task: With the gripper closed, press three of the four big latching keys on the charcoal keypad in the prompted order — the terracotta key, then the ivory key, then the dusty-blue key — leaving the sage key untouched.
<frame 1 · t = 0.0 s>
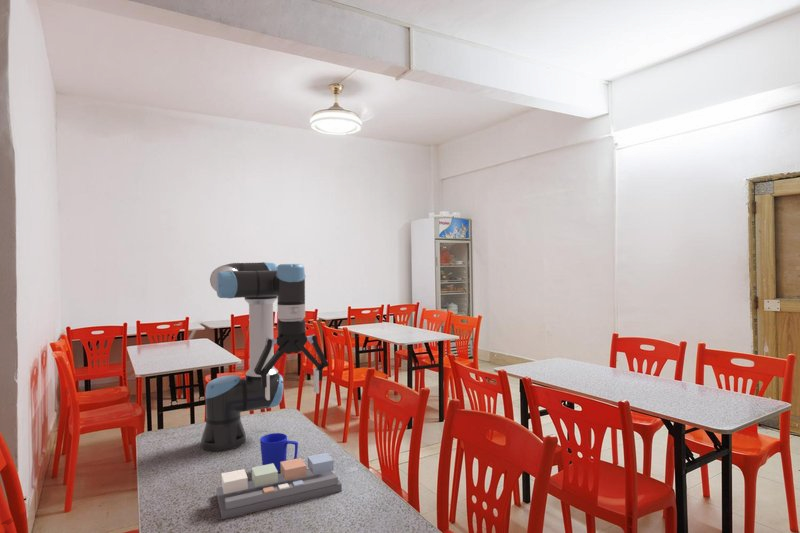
hand: (292, 395, 132), 28 cm above the table, fingers open, 13 cm apart
keypad: (279, 492, 134), on the table
terracotta key: (293, 468, 136), point 6 cm above the table, slide at 0.0 cm
sage key: (264, 474, 132), point 6 cm above the table, slide at 0.0 cm
ivory key: (234, 481, 129), point 6 cm above the table, slide at 0.0 cm
mug: (279, 470, 149), on the table
blue key: (320, 463, 139), point 6 cm above the table, slide at 0.0 cm
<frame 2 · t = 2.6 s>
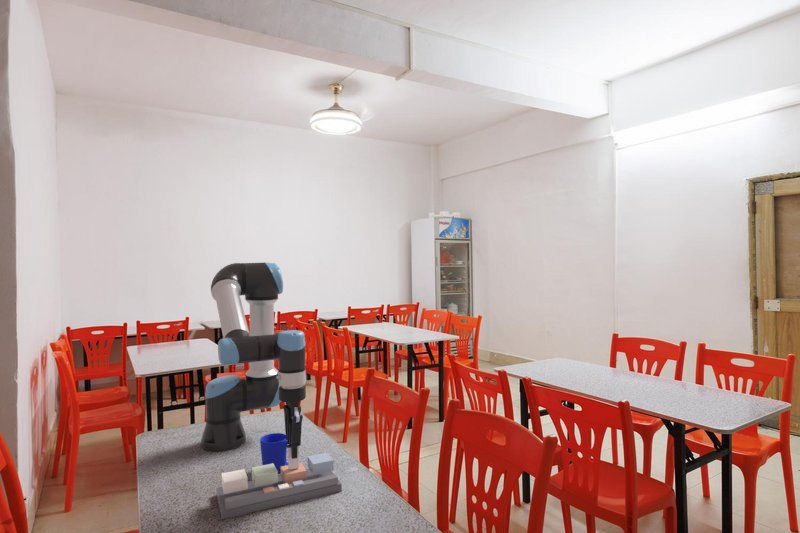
hand: (293, 467, 136), 6 cm above the table, fingers closed
terracotta key: (293, 473, 136), point 5 cm above the table, slide at 1.4 cm, touching gripper
everything else where it was.
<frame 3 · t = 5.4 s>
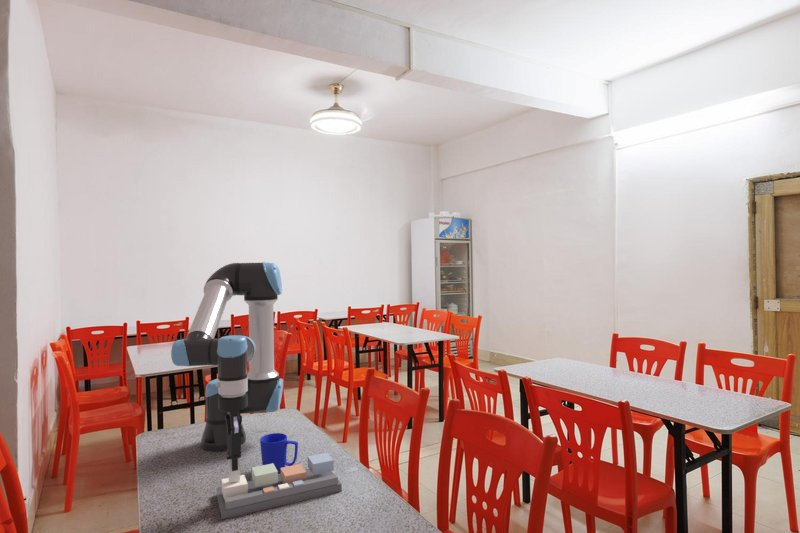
hand: (234, 480, 129), 6 cm above the table, fingers closed
terracotta key: (293, 475, 136), point 4 cm above the table, slide at 1.8 cm
ivory key: (234, 486, 129), point 4 cm above the table, slide at 1.6 cm, touching gripper
everything else where it was.
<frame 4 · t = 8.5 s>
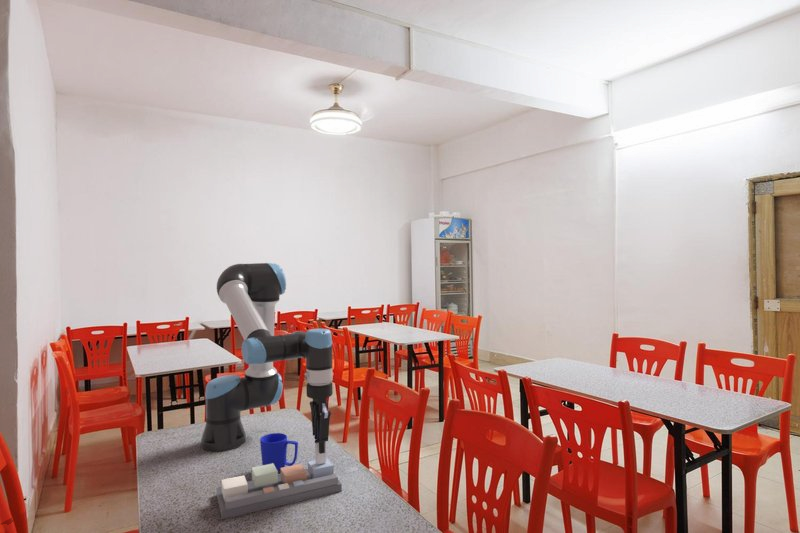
hand: (320, 462, 139), 6 cm above the table, fingers closed
ivory key: (234, 487, 129), point 4 cm above the table, slide at 1.8 cm
blue key: (320, 468, 139), point 4 cm above the table, slide at 1.5 cm, touching gripper
everything else where it was.
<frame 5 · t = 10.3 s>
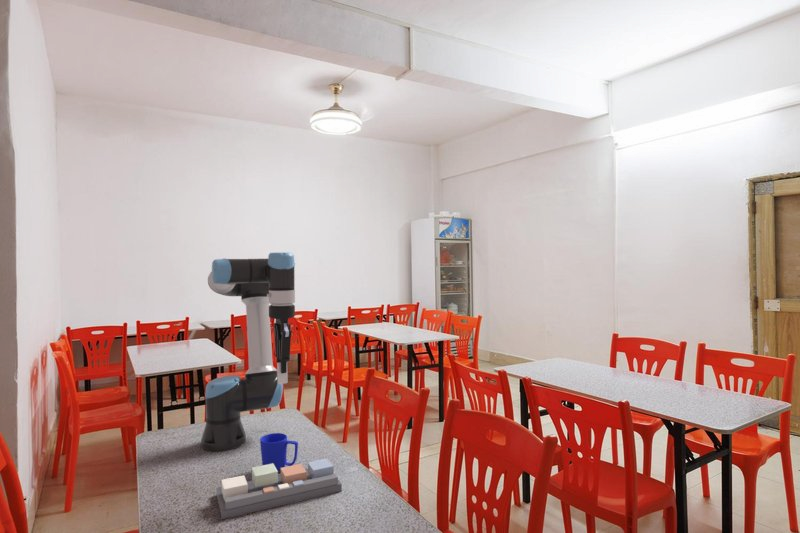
hand: (282, 382, 142), 29 cm above the table, fingers closed
blue key: (320, 469, 139), point 4 cm above the table, slide at 1.8 cm
everything else where it was.
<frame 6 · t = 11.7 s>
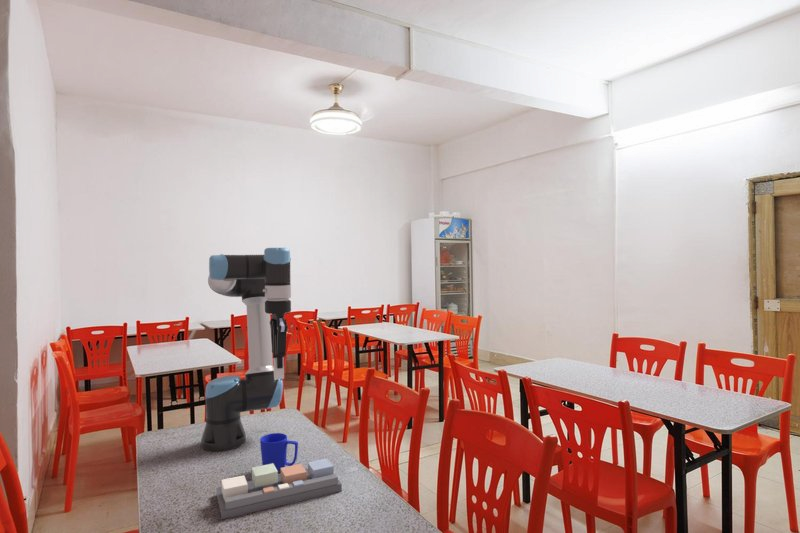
hand: (279, 378, 142), 30 cm above the table, fingers closed
nothing on the table moved.
at the end: terracotta key slide at 1.8 cm; ivory key slide at 1.8 cm; sage key slide at 0.0 cm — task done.
